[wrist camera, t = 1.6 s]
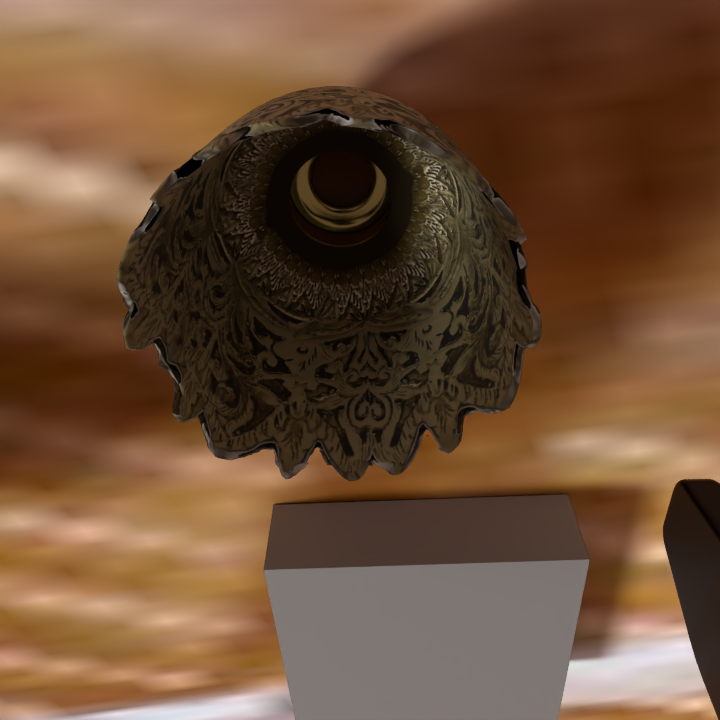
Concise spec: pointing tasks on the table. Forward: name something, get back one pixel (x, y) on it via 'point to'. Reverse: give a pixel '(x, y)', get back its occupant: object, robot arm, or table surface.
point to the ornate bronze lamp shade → (330, 287)
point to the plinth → (426, 606)
